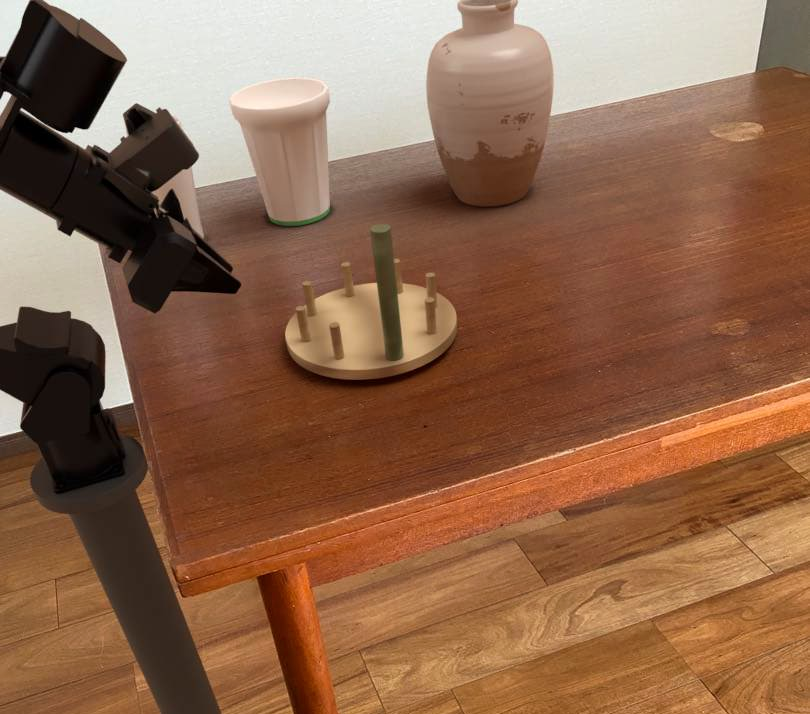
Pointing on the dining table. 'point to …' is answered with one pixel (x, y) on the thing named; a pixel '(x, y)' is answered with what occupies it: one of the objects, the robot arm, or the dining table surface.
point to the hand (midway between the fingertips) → (234, 280)
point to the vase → (490, 103)
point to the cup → (287, 146)
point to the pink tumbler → (183, 194)
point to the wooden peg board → (372, 322)
